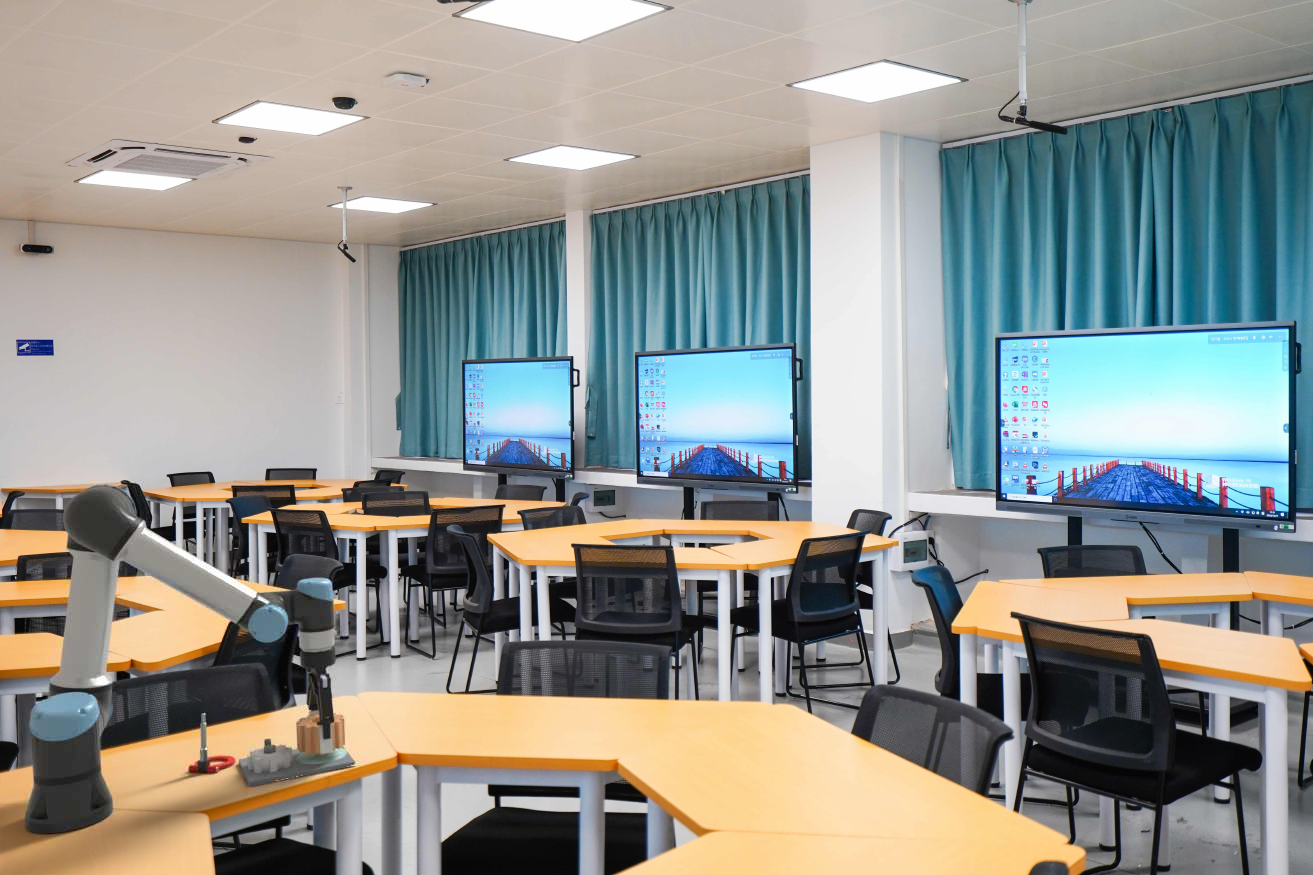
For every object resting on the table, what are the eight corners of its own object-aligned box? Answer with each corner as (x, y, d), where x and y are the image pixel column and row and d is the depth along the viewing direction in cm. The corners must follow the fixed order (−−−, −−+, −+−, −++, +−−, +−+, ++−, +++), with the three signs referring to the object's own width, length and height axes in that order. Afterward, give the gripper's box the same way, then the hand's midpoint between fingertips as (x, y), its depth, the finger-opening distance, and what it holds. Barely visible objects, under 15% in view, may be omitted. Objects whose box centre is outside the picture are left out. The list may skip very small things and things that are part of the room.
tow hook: (208, 759, 238) (184, 772, 229) (207, 703, 238) (183, 713, 229) (242, 761, 237) (219, 774, 228) (242, 704, 237) (218, 715, 228)
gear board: (249, 786, 220) (247, 752, 219) (238, 763, 234) (237, 731, 233) (355, 765, 230) (353, 733, 230) (339, 745, 244) (337, 714, 244)
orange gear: (349, 748, 233) (348, 721, 232) (302, 757, 228) (301, 730, 227) (339, 735, 242) (338, 709, 241) (293, 743, 237) (292, 717, 236)
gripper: (346, 655, 225) (349, 756, 226) (324, 635, 245) (327, 728, 246) (310, 661, 222) (314, 763, 223) (290, 639, 242) (294, 734, 243)
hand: (321, 745), depth 235 cm, fingers closed on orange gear, 10 cm apart
